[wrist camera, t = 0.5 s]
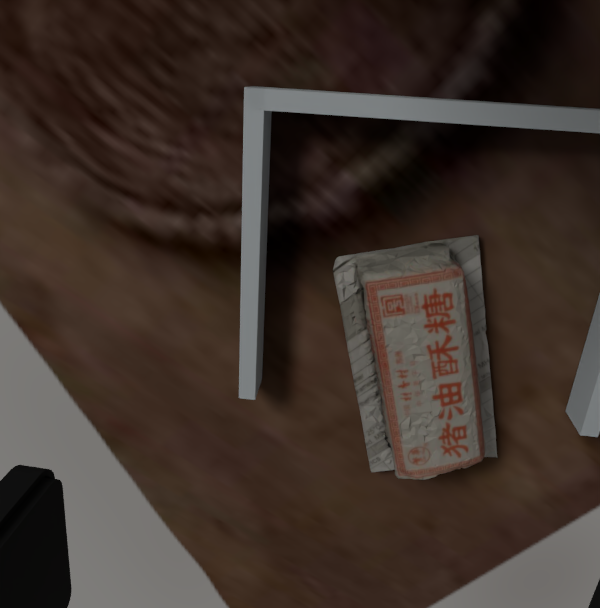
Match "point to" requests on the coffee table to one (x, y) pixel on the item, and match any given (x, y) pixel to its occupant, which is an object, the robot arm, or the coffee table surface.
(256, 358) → the open frame
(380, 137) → the coffee table surface
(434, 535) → the coffee table surface
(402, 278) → the packaged product
